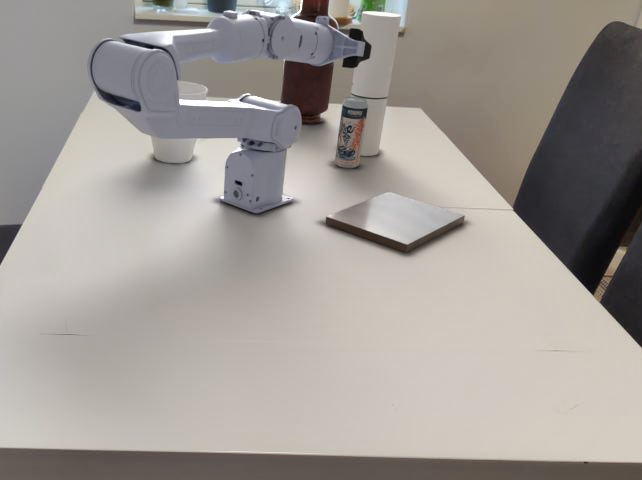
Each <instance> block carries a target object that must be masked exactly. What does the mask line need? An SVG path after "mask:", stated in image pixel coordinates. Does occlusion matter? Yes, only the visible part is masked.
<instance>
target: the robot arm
mask: <svg viewBox="0 0 642 480" xmlns="http://www.w3.org/2000/svg"><path fill="white" fill-rule="evenodd" d="M222 14H223V15H222V16H218V17H215V18H213V19H212V20H210V22H209V23H208V24H207V26H206V28H197V29H196V28H195V29H194V28H193V29H177V30H160V31H157V30H156V31H146V32H145V31H144V32H135V33H134V32H133V33H126V34H125V33H124V34H122V35H119V36H118V38H119V39H120V40H122V42H121V41H119V40H118V39H115V38H109V37H107V38H102V39H100V40H98V41H97V42H96V43H95V44H94V45H93V47H92V48H91V50H90V52H89V55H88V58H87V63H86V65H87V75H88V79H89V81H90V84H91V85H92V88H93V89H94V92H95V94H96V96H97V98H98V99H99V100H100V101H101V102H103V103H105V104H106V105H108V106H110V108H113V109H114V110H115V111H117V113H119V114H120V115H121V116H122V117H123V118H124V119H125V120H126V121H128V122H129V123H130V124H131V125H132V126H133V127H134V128H135V129H137V130H138V131H139V132H140V133H142V134H144V135H147V136H150V137H151V136H153V137H156V138H160V139H196V140H197V139H236V141H237V142H238V143H240V144H239V146H238V148H237V149H235V150H234V151H232V152H231V153H230V154H229V155H228V157H227V158H226V161H225V166H224V167H225V168H224V181H223V182H224V183H223V195H222V196H219V201H221V202H224V203H225V204H228V205H232V206H234V207H237V208H239V209H241V210H245V211H247V212H249V213H250V212H251V213H253V214H260V213H263V212H266V211H269V210H271V209H274V208H277V207H280V206H284V205H286V204H288V203H291V202H293V201H294V197H292V196H289V195H286V194H284V184H285V182H284V181H285V175H286V165H287V163H286V162H287V153H288V149H291V148H292V146H293V144H294V143H296V141H297V140H298V138H299V136H300V134H301V130H302V126H303V125H302V118H301V113H300V110H299V109H298V107H296V106H295V105H291V104H290V105H286V104H282V103H280V102H278V101H275V100H270V99H266V98H262V97H258V96H255V95H254V94H252V93H244V94H241V95H240V96H239V97H238V98H236V99H228V101H216V100H215V101H214V100H213V101H212V100H205V101H193V100H180V99H179V91H178V83H177V81H181V79H182V64H184V63H189V62H193V61H197V60H202V59H206V58H211V60H213V61H214V62H215V63H217V64H218V65H219V64H220V65H227V64H233V63H239V62H244V61H251V60H256V59H258V58H266V59H270V60H276V62H282V61H284V60H288V61H295V62H300V63H309V64H311V65H314V66H322V65H325V64H328V63H331V62H334V63H335V62H337V61H340V60H342V64H341V67H342V68H345V69H354V68H356V67H357V66H358V65H359V63H360V62H362V61H365V60H367V59H369V58H370V54H371V48H372V46H371V44H370V43H368V42H367V41H366V40H365V39H364V35H363V31H362V30H360V28H353V27H350V28H349V30H348V35H346V34H344V33H343V32H341V31H339V29H338V30H336V29H334V28H333V27H331V26H330V25H329V18H328V17H326V16H317V18H316V22H315V23H313V22H308V21H304V20H299V19H295V18H291V17H290V15H288V14H284V15H283V14H279V13H278V14H277V13H273V12H266V11H261V10H257V9H249V8H247V9H245V10H243V12H242V13H241V14H239V13H238V11H233V10H224V11H223V13H222Z"/></svg>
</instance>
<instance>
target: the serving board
mask: <svg viewBox="0 0 642 480" xmlns="http://www.w3.org/2000/svg"><path fill="white" fill-rule="evenodd" d="M465 217H466V214H462V213H458V212H455V211H452V210H449V209H447V208H446V209H445V208H442V207H439V206H436V205H433V204H431V203H427V202H423V201H420V200H417V199H413V198H410V197H408V196H403V195H402V194H401V195H400V194H397V193H395V192H391V191H387V192H384V193H382V194H379V195H376V196H374V197H371V198H368V199H366V200H364V201H361V202H359V203H357V204H354V205H352V206H349V207H346V208H343V209H341V210H340V211H336V212H333V213H331V214H329V215H326V217H325V222H324V224H325V225H328V226H330V227H333V228H336V229H339V230H342V231H345V232H347V233H350V234H353V235H355V236H358V237H362V238H364V239H367V240H369V241H373V242H376V243H378V244H381V245H383V246H386V247H389V248H392V249H394V250H398V251H399V252H404V253H408V252H409V251H411V250H413V249H416V248H417V247H420V246H421V245H423V244H424V243H427V242H429V241H430V240H431V241H432V240H433V239H435V238H436V237H439V236H440V235H442V234H444V233H447V232H448V231H450V230H452V229H453V228H456V227H457V226H459V225H461V224H463V223H464V222H465Z"/></svg>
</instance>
